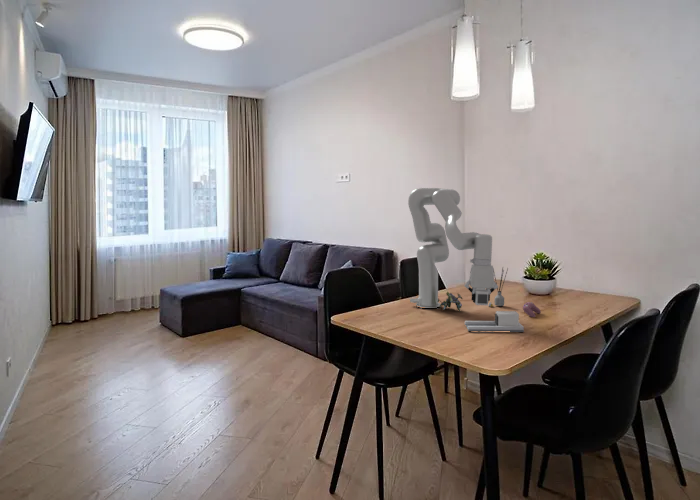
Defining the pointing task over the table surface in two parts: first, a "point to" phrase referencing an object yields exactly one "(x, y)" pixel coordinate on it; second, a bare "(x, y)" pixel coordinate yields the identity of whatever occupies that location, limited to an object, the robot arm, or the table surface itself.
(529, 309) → the video game controller
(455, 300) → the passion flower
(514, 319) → the rail dock
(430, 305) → the robot arm
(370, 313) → the table surface
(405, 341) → the table surface
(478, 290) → the block
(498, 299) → the reed diffuser
